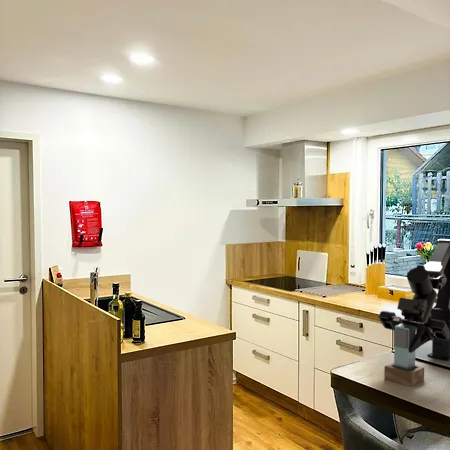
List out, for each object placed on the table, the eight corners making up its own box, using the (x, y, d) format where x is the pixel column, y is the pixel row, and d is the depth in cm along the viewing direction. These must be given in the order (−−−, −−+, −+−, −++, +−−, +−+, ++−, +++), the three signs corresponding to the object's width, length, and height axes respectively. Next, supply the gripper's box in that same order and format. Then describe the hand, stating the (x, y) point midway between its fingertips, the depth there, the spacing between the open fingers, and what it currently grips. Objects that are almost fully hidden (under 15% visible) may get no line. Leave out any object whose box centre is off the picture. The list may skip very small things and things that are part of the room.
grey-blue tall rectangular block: (401, 369, 131) (401, 323, 130) (414, 373, 128) (415, 326, 128) (393, 373, 128) (393, 326, 127) (407, 376, 125) (407, 328, 125)
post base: (397, 372, 133) (398, 360, 133) (424, 379, 128) (424, 367, 128) (384, 378, 128) (384, 366, 128) (410, 386, 123) (411, 373, 123)
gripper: (382, 283, 137) (361, 326, 130) (446, 291, 123) (427, 340, 116) (394, 306, 142) (375, 348, 135) (458, 316, 129) (440, 364, 122)
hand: (402, 350), depth 127 cm, fingers closed on grey-blue tall rectangular block, 4 cm apart
